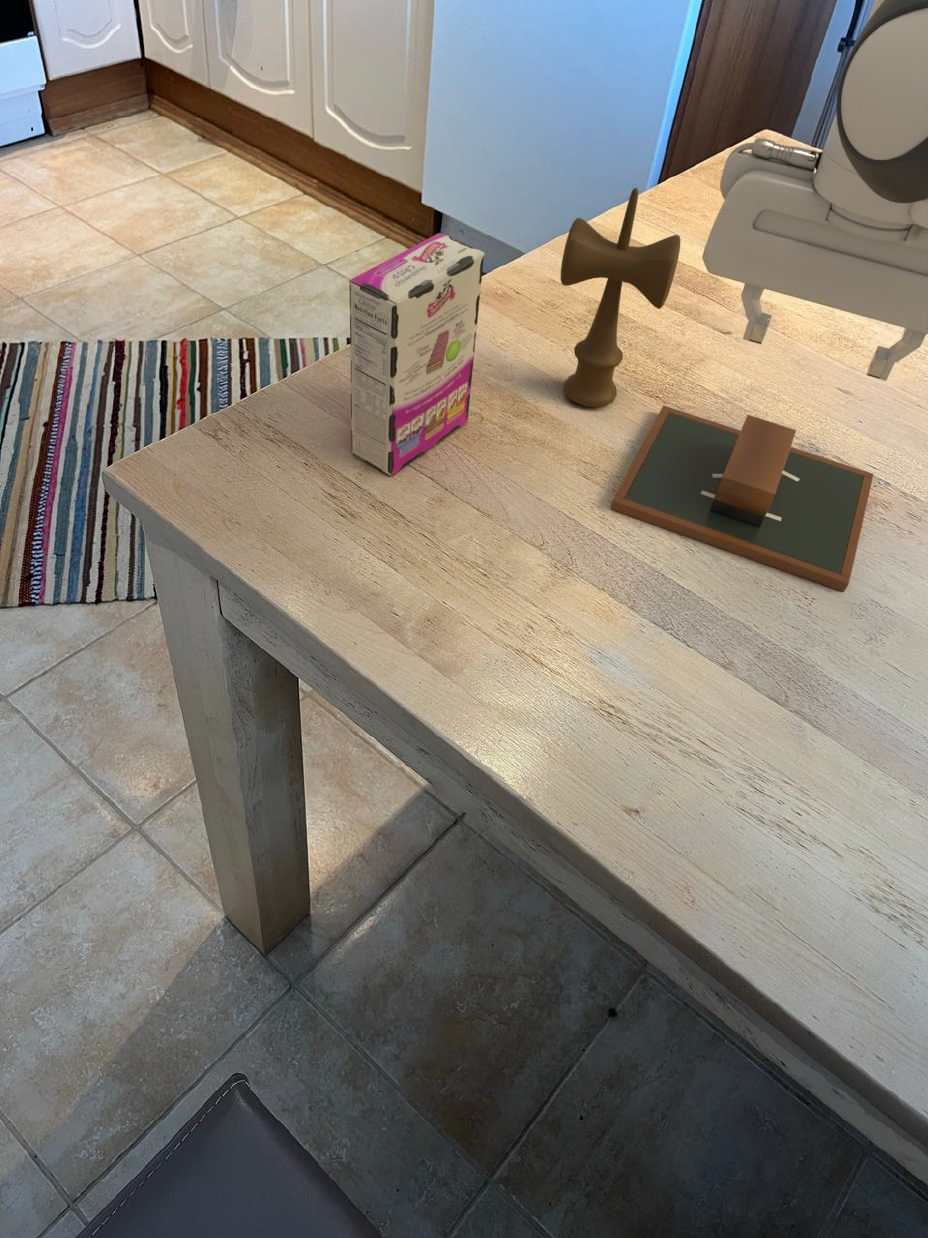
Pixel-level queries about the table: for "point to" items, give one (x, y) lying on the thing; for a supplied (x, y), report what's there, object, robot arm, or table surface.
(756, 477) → the eraser
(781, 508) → the chalkboard
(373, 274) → the candy bar box
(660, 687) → the table surface
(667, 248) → the kendama
